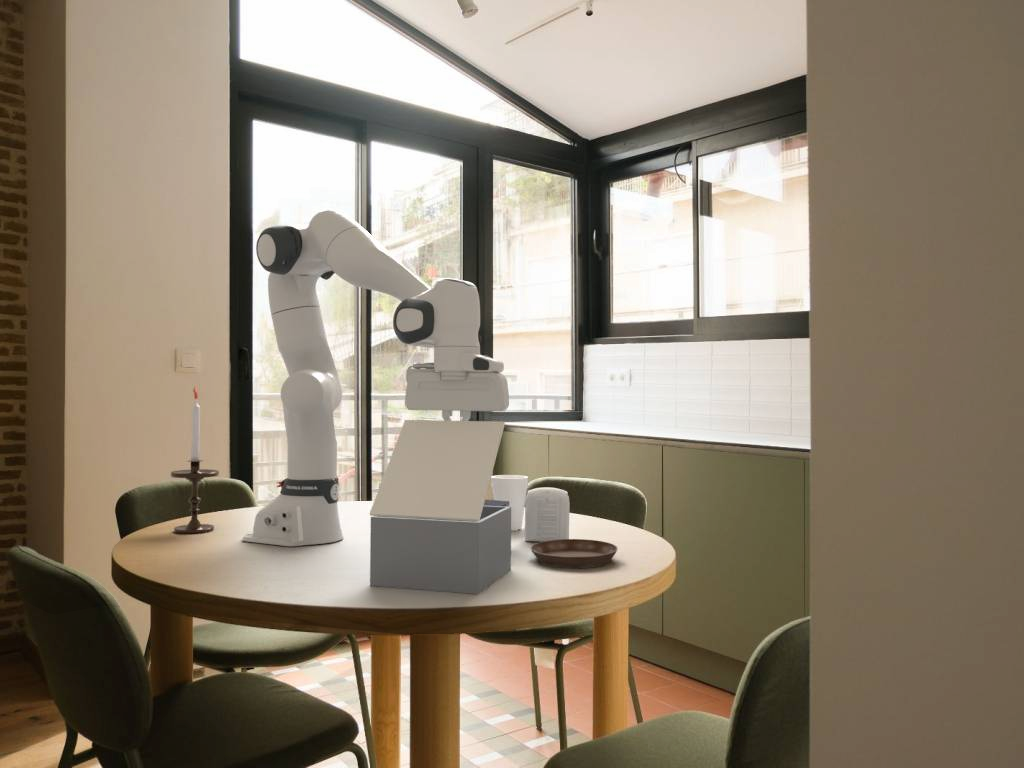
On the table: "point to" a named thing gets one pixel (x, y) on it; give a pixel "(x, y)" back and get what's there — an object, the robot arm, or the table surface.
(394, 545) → the carton
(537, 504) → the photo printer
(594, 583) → the table surface
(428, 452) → the lid flap
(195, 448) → the candlestick
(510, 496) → the foam cup
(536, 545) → the plant saucer
